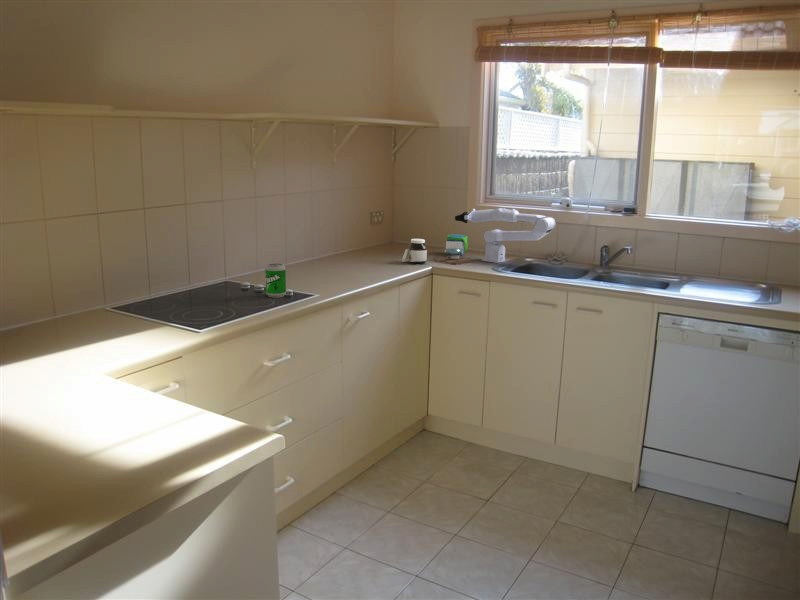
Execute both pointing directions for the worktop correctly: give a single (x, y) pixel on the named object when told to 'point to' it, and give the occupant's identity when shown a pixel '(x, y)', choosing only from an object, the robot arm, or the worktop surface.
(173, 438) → the worktop surface
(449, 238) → the snack cup
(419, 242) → the spread jar
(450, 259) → the base plate
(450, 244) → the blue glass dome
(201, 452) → the worktop surface
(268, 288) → the soda can
